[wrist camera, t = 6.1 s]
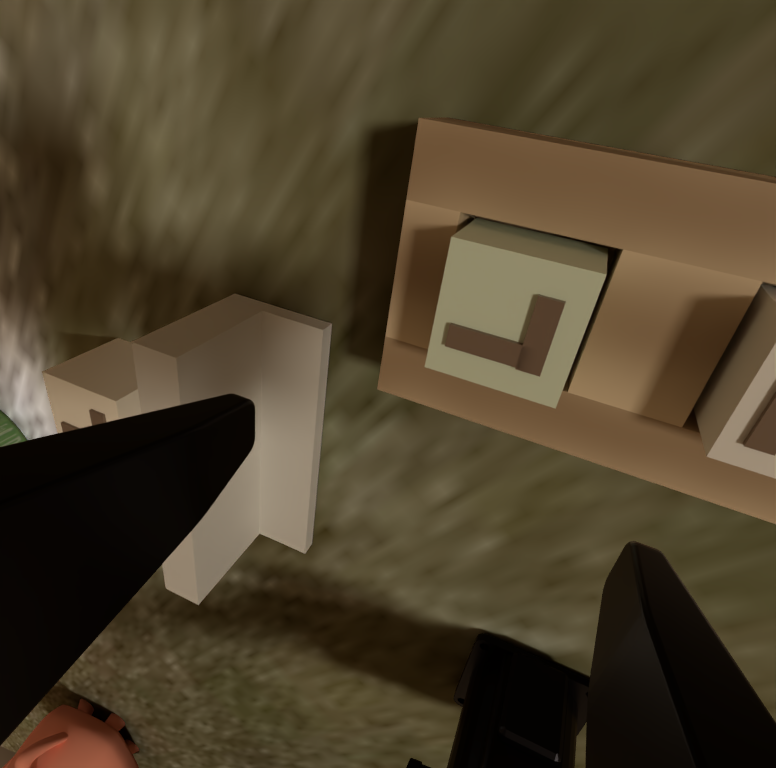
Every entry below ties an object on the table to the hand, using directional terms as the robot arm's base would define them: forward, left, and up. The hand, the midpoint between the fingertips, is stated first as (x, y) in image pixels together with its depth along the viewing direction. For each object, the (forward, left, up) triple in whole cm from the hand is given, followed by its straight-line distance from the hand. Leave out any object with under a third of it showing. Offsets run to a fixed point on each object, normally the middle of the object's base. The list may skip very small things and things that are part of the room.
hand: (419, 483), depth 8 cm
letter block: (-11, +18, -12) cm, 24 cm away
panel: (0, -4, -12) cm, 13 cm away
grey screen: (-11, +10, -12) cm, 19 cm away
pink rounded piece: (-62, +31, -12) cm, 70 cm away
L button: (0, 0, -10) cm, 10 cm away
